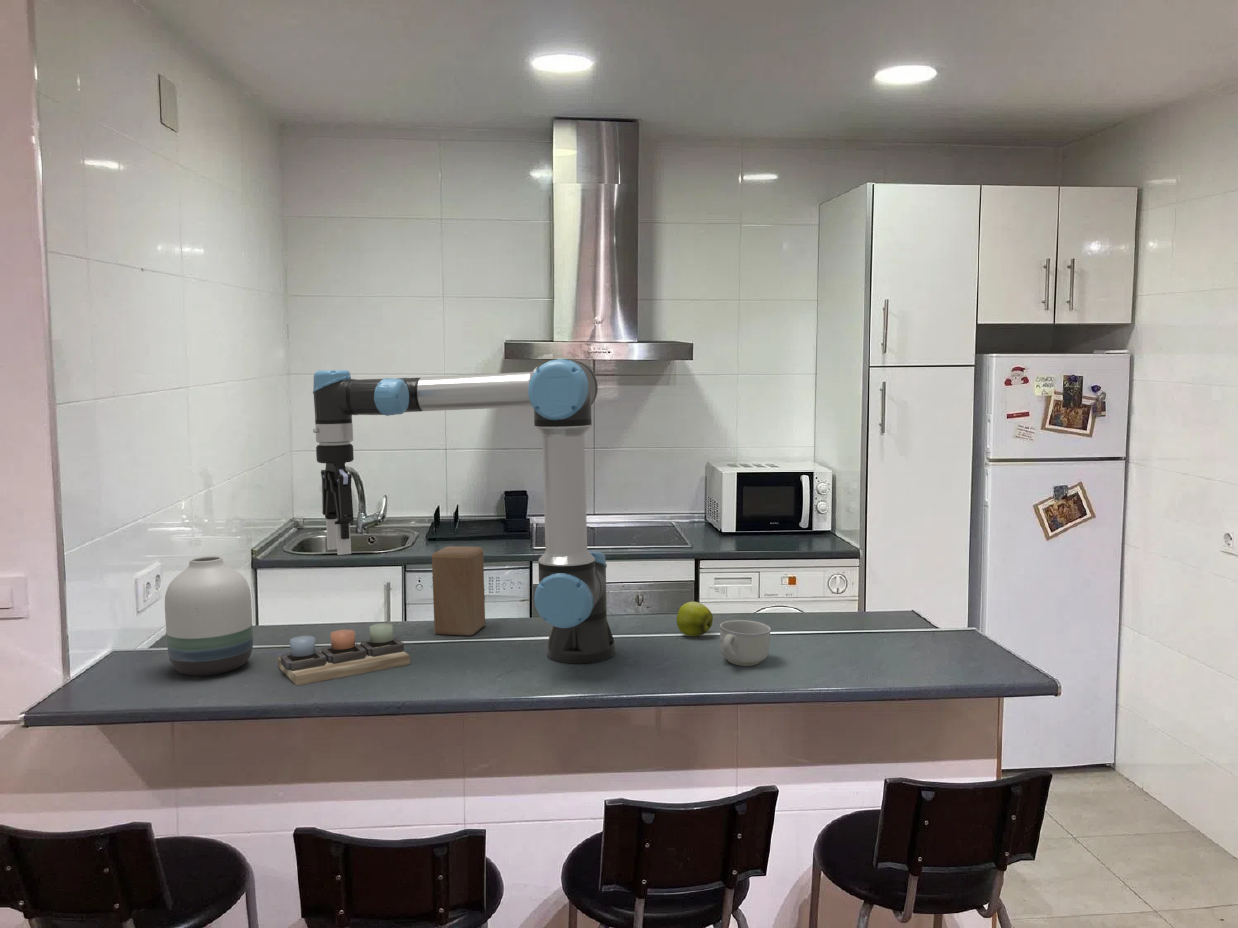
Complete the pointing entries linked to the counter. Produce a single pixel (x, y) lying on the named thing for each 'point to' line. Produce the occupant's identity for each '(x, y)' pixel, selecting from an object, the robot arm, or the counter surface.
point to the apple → (694, 619)
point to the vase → (208, 618)
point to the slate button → (302, 646)
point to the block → (458, 590)
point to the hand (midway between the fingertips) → (339, 551)
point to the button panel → (344, 661)
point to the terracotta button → (342, 639)
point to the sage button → (381, 633)
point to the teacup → (744, 641)
